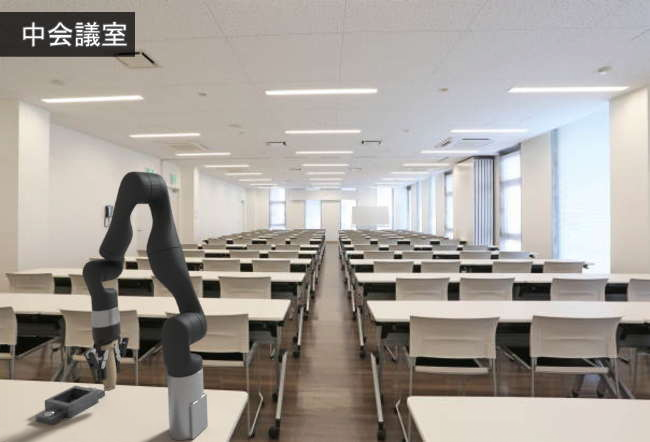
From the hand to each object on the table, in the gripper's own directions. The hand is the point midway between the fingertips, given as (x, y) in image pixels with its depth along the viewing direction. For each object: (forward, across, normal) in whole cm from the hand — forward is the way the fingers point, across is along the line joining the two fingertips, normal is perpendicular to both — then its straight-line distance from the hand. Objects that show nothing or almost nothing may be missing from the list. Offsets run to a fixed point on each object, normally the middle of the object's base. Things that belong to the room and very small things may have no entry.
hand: (109, 375), depth 109 cm
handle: (+5, 0, 0) cm, 5 cm away
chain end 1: (+10, -6, +12) cm, 16 cm away
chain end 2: (+10, -2, +12) cm, 15 cm away
